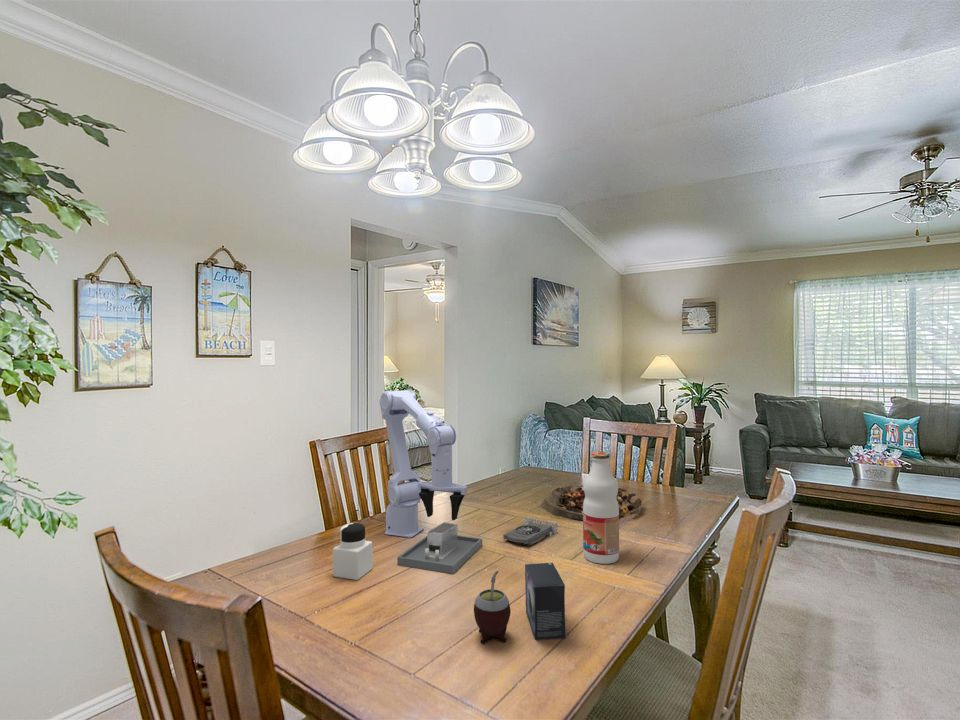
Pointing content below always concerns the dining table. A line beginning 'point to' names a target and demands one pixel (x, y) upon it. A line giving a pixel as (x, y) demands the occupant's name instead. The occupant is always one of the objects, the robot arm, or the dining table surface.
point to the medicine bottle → (352, 553)
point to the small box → (545, 601)
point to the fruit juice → (600, 512)
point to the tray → (447, 563)
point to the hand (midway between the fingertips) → (442, 517)
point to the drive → (442, 539)
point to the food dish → (572, 503)
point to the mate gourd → (492, 613)
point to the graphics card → (531, 531)
